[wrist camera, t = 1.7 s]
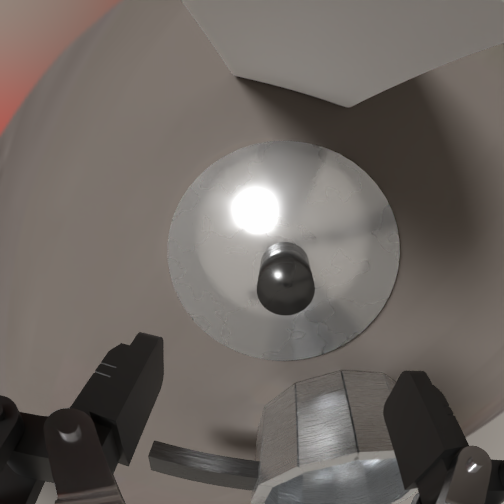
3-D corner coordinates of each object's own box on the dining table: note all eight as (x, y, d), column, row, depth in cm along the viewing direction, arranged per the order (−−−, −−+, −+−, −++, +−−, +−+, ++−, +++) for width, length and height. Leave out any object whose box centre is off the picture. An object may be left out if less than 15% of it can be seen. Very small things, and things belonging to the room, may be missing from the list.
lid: (418, 169, 17) (451, 177, 13) (359, 363, 22) (370, 401, 18) (182, 127, 18) (156, 122, 13) (168, 334, 23) (149, 369, 19)
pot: (453, 374, 22) (488, 436, 14) (391, 460, 27) (404, 514, 19) (172, 343, 22) (135, 420, 15) (174, 442, 27) (154, 502, 20)
